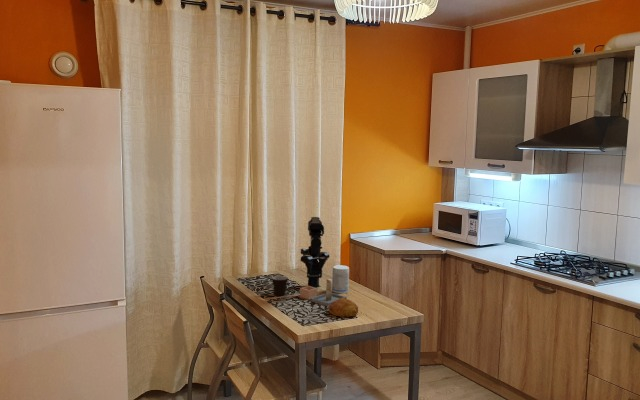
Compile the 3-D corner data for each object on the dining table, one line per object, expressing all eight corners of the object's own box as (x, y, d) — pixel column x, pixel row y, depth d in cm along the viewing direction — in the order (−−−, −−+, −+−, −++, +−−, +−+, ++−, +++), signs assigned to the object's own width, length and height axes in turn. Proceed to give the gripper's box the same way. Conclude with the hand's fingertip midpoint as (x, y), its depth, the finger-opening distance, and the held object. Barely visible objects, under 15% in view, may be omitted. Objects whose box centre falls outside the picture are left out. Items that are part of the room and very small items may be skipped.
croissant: (347, 311, 268) (347, 295, 268) (362, 316, 254) (362, 300, 254) (323, 313, 261) (322, 298, 261) (337, 319, 247) (337, 302, 248)
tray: (329, 296, 285) (329, 292, 285) (346, 300, 278) (346, 296, 277) (310, 302, 273) (310, 298, 273) (327, 307, 265) (327, 303, 265)
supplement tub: (331, 289, 299) (332, 264, 298) (347, 289, 299) (348, 265, 297) (332, 294, 289) (332, 268, 288) (348, 294, 289) (349, 269, 288)
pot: (307, 295, 286) (308, 285, 285) (317, 297, 281) (317, 288, 281) (299, 297, 280) (300, 288, 280) (308, 300, 276) (309, 290, 275)
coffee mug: (284, 298, 279) (285, 280, 277) (269, 297, 280) (270, 279, 279) (290, 292, 290) (290, 275, 289) (275, 291, 292) (276, 274, 290)
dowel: (328, 298, 277) (329, 278, 276) (332, 299, 275) (333, 279, 274) (324, 299, 275) (325, 279, 274) (329, 300, 273) (329, 281, 272)
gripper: (315, 240, 296) (314, 266, 298) (293, 244, 282) (292, 272, 284) (330, 243, 289) (329, 270, 291) (308, 247, 275) (307, 276, 277)
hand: (314, 272), depth 286 cm, fingers open, 9 cm apart
